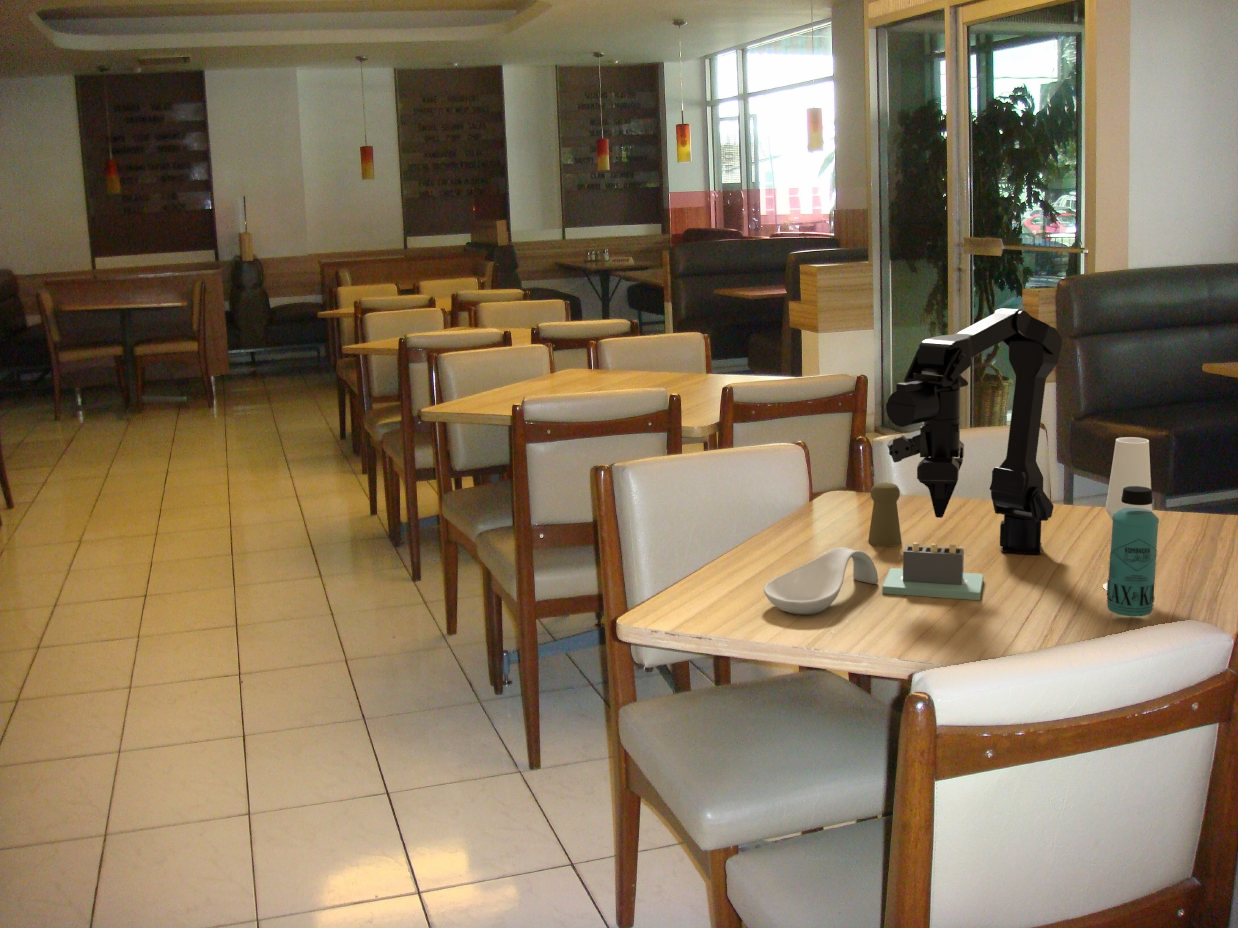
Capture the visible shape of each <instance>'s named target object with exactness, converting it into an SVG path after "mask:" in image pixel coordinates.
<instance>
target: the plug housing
mask: <svg viewBox="0 0 1238 928" xmlns="http://www.w3.org/2000/svg"><path fill="white" fill-rule="evenodd" d="M964 551H965V549H964V548H963V547H962V548H959V547H956V553H949V547H944V546H941V547H940V546H937V552H931V546H923V545H921V546H920V545H919V551H912V545H909V544H908V545H905V546H904V548H903V551H902V553H903V554H902V569H903V581H909V582H925V583H940V584H955V585H962V581H963V573H964V565H965V561H964V560H965V559H964V557H965V556H964V555H965V554H964V553H965V552H964Z"/></svg>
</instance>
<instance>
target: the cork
mask: <svg viewBox="0 0 1238 928" xmlns="http://www.w3.org/2000/svg"><path fill="white" fill-rule="evenodd" d="M900 495H901V491H900V488H899V486H898V485H897V484H895V483H892V482H878V483H876V484H873V486H872V487H871V489H870V497H871V500H872V501H873V504H872V511H871V512H872V513H871V519H870V525H869V533H868V538H867V539H868V540H867V543H869V544H870V545H873V546H876V547H877V546H878V547H895V546H900V545H901V544H902V542H903V541H902V534H901V533H902V532H901V526H900V518H899V509H898V503H897V502H898V500H899V498H900Z"/></svg>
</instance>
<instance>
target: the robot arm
mask: <svg viewBox="0 0 1238 928" xmlns="http://www.w3.org/2000/svg"><path fill="white" fill-rule="evenodd" d="M999 343H1002V344H1004V346H1006V348H1008V351H1007V352H1008V363H1009V364H1010V367H1011V369H1012V371H1013V373H1014V375H1015V379H1014V381H1015V382H1014V390H1013V397H1012V406H1011V416H1010V422H1009V423H1010V424H1009V430H1008V431H1009V432H1008V440H1007V449H1006V456H1005V459H1004V460H1003V461H1002V463H1001V464H1000V465H999V467H997V466H995V467H994V468H993V469H992V471H991V482H990V486H989V490H990V497H991V500H992V505H993V508H994V509H993V510H994V513H995V514H997V515H1003V520H1001V521H1000V524H999V525H1000V526H999V528H1000V529H999V546H1000V547H1001V552H1002V553H1010V554H1012V553H1013V554H1026V555H1029V554H1030V555H1042V542H1041V541H1042V522H1044V521H1045V522H1046V521H1049V519H1050V518H1052V515H1053V510H1054V507H1055V506H1054V504H1053V502H1052V501H1051V500H1050V498H1049V497H1048V495H1047V494H1046V493H1045V491H1044V476H1043V473H1042V471H1041V469H1040V467H1039V465H1038V463H1037V454H1038V447H1039V438H1040V430H1041V423H1042V412H1043V404H1044V397H1045V391H1046V390H1045V387H1046V380H1047V378H1048V377H1049V375H1050V374H1052V371H1053V370H1054V369H1055V368H1056V366H1057V365H1058V362H1059V358H1060V354H1061V350H1062V348H1063V338H1062V336H1061V334H1059V331H1058V330H1057V329H1056V328H1055V327H1053V326H1051V325H1050V324H1048V323H1046V322H1045V321H1042V320H1040V319H1038V318H1035V317H1033V316H1032V315H1031V314H1029V312H1027V311H1025V310H1023V309H1022V308H1009V307H1008V308H1007V307H1003V308H999V309H996V310H995V311H994V313H993V314H990V315H989V316H987V317H984V318H983V319H981V320H979V321H977V322H975V323H974V324H972V325H970V326H968V327H966V328H964V329H962V330H960V331H959V332H956V333H953V334H944V335H936V336H933V337H929V338H926V339H924V340H922V341H921V342H920V343H919V344H918V349H917V350H916V352H915V355H914V357H913V358H912V362H911V364H910V366H909V368H908V369H907V373H906V374H905V376H904V379H903V382H898V383H896V385H895V386H896V387H895V389H896V390H895V391H894V392H893V393H891V394H890V395H889V397H888V400H887V403H885V409H886V415H887V417H888V419H889V421H890V422H891V423H892V424H893V425H895V426H897V427H899V428H903V427H905V428H906V427H909V426H912V425H913V426H914V425H917V424H921V423H922V424H921V426H920V428H919V430H915V431H912V432H909V433H906V434H901V435H899V436H897V437H893V438H892V439H890V440H889V441H888V443H887V448H888V450H889V451H888V455H889V456H891V459H892V461H893V463H899V462H902V460H904V459H906V458H910V457H914V456H916V455H919V457H920V458H923V459H921V461H919V462H918V464H917V467H916V479H917V480H918V481H919V483H920V484H923V485H924V486H925V487H926V488H927V489H928V492H929V494H930V499H931V503H932V508H933V512H934V516H935V518H937V519H938V518H941V519H942V518H943V517H944V515H945V512H946V511H947V507H948V505H949V502H950V500H951V498H952V495H953V493H954V491H955V488H956V486H957V483H958V481H959V477H960V476H959V474H960V470H961V466H962V465H963V463H964V462H963V460H964V456H965V444H964V442H962V441H961V438H960V436H961V433H960V432H961V423H962V422H961V388H963V387H967V386H968V385H969V381H967V379H965V378H964V377H963V376H962V374H963V373H964V372H966V371H967V370H968V369H969V368H970V367H971V366H972V365H973V361H974V358H975V357H977V356H978V355H980V354H981V353H983V352H985V351H987V350H989V349H990V348H993V347H994V346H997V345H998V344H999Z"/></svg>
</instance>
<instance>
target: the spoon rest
mask: <svg viewBox="0 0 1238 928" xmlns="http://www.w3.org/2000/svg"><path fill="white" fill-rule="evenodd" d="M851 558H852V562H853V564H852V565H853V566H852V567H853V569H852V570H853V573H852V576H853V577H852V578H853V579H854V580H855V581H858V582H862V583H867V584H872V585H875V584H878V583H879V575H878V570H877V568H876V564H875V562H874V561H873V559H872V558H871V556H870V555H869V554H867V552H865V551H862V550H858V549H857V550H853V549H851V548H849V547H845V546H843V547H842V546H840V547H836V548H832V549H830V550H828V551H826V552H825V553H823V554H821V555H819V556H817V557H816V558H814V559H812V560H810V561H808V562H806V563H804V564H802V565H800V566H798V567H796V568H794V569H791V570H790V571H787V572H785V573H783V574H781V575H777V576H776V577H774V578H772V579H771V580H769V581H768V582H767V583H766V584H765V585H764V587H763V593H764V595H765V597H766V598H767V600H768V601H769V602H770V603H771V604H772V605H773V606H775V607H776V608H777V609H778V610H780V611H783V612H786V613H789V614H794V615H800V614H802V615H803V616H804V615H807V616H808V615H814V614H818V613H821V612H823V611H824V610H825V609H827V608H828V607H830V605H832V604H833V602H834V601H835V600H836V599H837V597H838V595H839V593H840V592H841V589H842V588H843V587H842V586H843V583H844V579H845V574H846V569H847V565H848V562H849V560H850V559H851ZM802 615H801V616H802Z"/></svg>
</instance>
